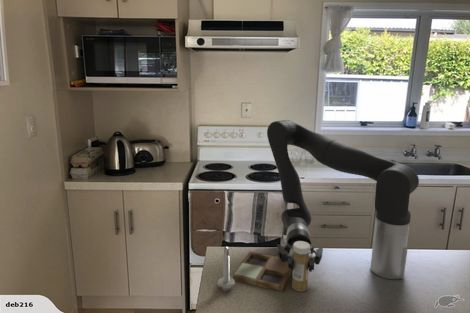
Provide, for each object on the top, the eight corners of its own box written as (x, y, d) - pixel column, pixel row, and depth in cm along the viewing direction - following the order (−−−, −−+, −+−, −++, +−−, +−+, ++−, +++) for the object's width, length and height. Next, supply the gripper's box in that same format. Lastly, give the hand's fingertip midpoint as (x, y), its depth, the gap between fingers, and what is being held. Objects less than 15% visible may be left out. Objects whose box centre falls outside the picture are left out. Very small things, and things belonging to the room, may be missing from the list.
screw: (215, 285, 97) (230, 281, 99) (221, 295, 93) (237, 290, 95) (214, 244, 94) (230, 240, 96) (221, 252, 90) (238, 248, 92)
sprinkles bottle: (311, 288, 96) (313, 245, 93) (299, 294, 94) (301, 249, 91) (299, 280, 100) (301, 238, 97) (288, 285, 97) (289, 243, 94)
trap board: (294, 264, 108) (294, 259, 108) (282, 291, 95) (282, 286, 94) (250, 255, 114) (250, 250, 113) (232, 279, 100) (232, 274, 100)
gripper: (276, 226, 109) (275, 253, 92) (321, 229, 107) (329, 257, 90) (275, 247, 111) (274, 278, 94) (320, 250, 109) (327, 282, 92)
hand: (301, 267), depth 92 cm, fingers closed on sprinkles bottle, 4 cm apart
